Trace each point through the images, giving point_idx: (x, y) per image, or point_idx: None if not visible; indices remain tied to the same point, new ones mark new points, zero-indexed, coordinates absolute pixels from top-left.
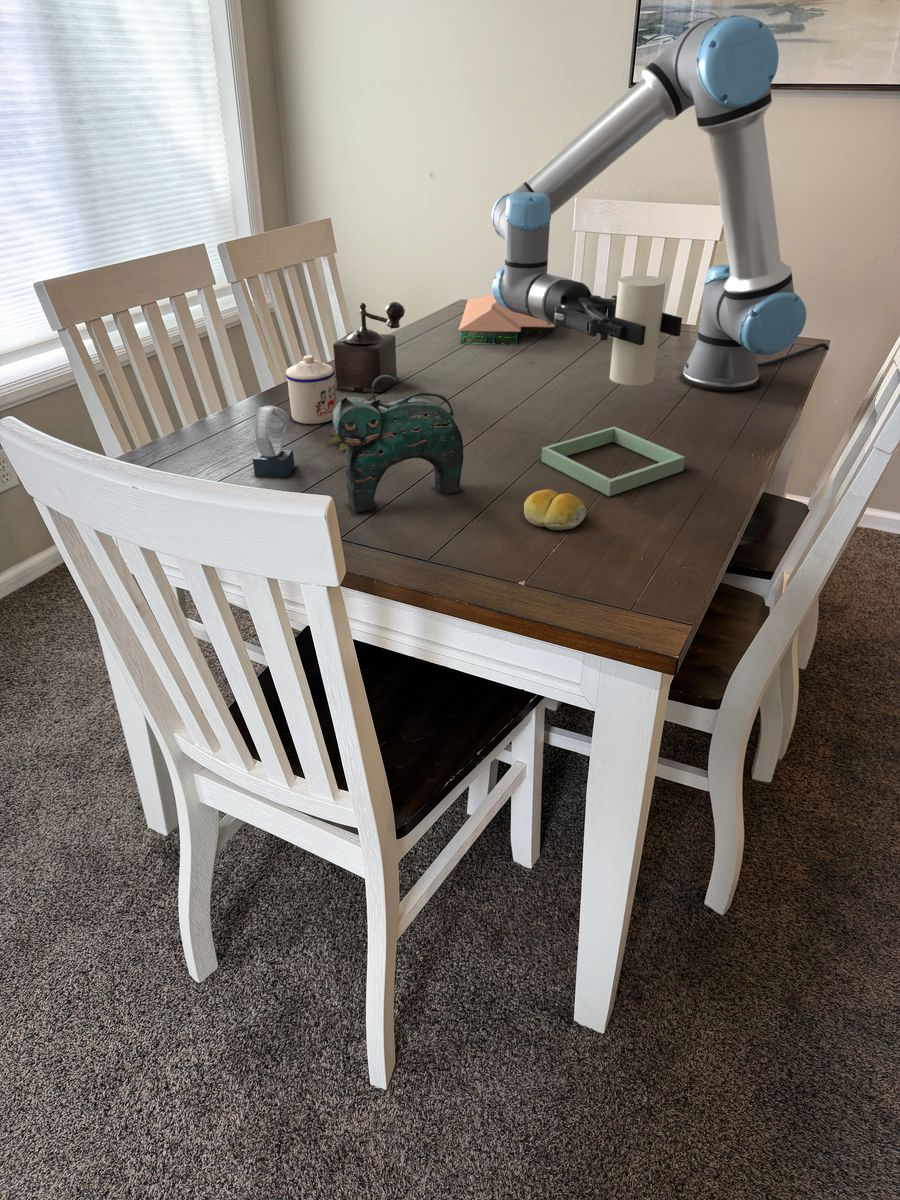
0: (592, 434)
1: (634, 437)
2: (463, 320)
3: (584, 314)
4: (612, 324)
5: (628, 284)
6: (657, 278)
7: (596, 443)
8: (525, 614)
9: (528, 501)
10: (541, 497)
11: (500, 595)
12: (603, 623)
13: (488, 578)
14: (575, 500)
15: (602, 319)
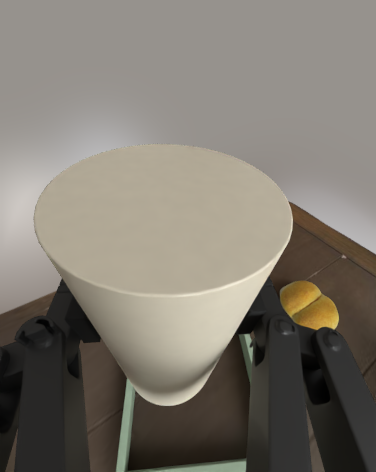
0: (176, 470)
1: (130, 405)
2: None
3: (364, 451)
4: (269, 294)
5: (273, 181)
6: (79, 177)
7: (166, 467)
8: (344, 237)
9: (337, 313)
10: (327, 305)
11: (358, 253)
12: (305, 219)
13: (366, 269)
14: (297, 285)
15: (296, 328)
